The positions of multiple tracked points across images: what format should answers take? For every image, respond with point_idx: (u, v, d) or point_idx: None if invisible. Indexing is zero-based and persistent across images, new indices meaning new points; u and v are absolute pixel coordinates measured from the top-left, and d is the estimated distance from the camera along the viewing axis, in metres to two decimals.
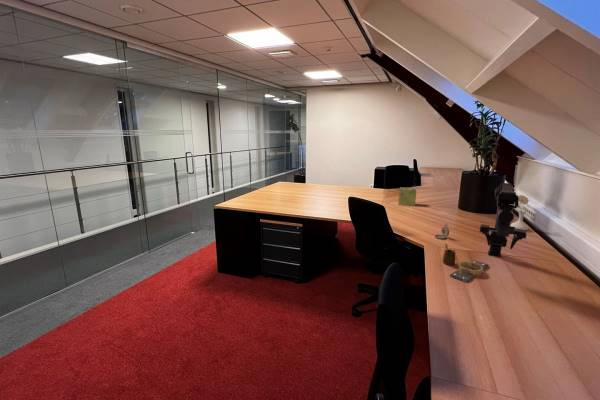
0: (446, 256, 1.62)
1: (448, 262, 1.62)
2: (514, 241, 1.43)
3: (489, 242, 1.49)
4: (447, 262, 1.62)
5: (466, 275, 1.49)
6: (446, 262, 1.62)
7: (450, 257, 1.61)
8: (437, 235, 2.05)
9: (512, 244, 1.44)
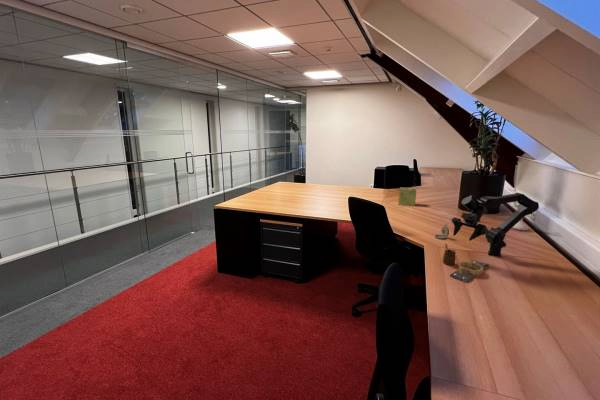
0: (446, 256, 1.62)
1: (448, 262, 1.62)
2: (474, 232, 1.60)
3: (455, 231, 1.69)
4: (447, 262, 1.62)
5: (466, 275, 1.49)
6: (446, 262, 1.62)
7: (450, 257, 1.61)
8: (437, 235, 2.05)
9: (472, 235, 1.61)
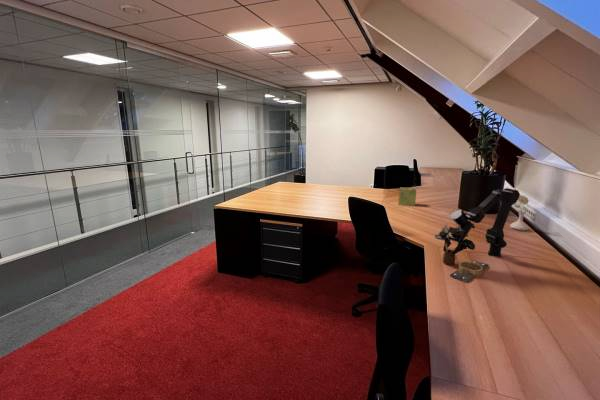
0: (446, 256, 1.62)
1: (448, 262, 1.62)
2: (457, 246, 1.59)
3: None
4: (447, 262, 1.62)
5: (466, 275, 1.49)
6: (446, 262, 1.62)
7: (450, 257, 1.61)
8: (437, 235, 2.05)
9: (455, 249, 1.59)
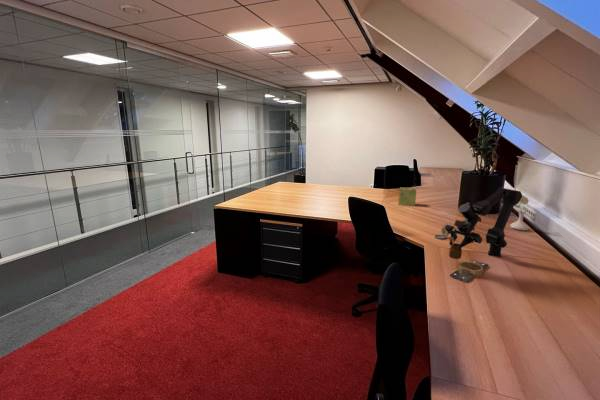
0: (452, 250, 1.59)
1: (454, 256, 1.58)
2: (464, 240, 1.56)
3: None
4: (453, 256, 1.59)
5: (466, 275, 1.49)
6: (452, 256, 1.59)
7: (456, 251, 1.57)
8: (437, 235, 2.05)
9: (461, 242, 1.56)
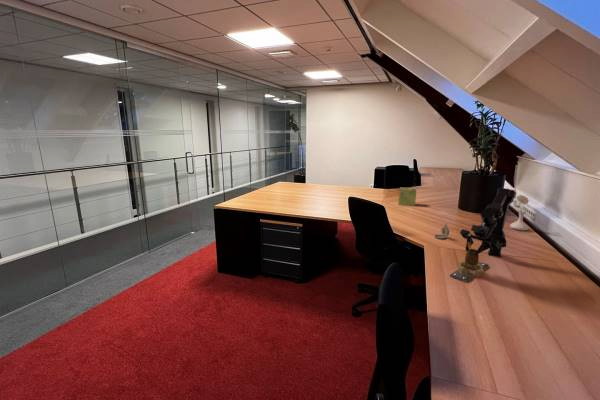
0: (469, 256, 1.52)
1: (471, 262, 1.51)
2: (481, 245, 1.49)
3: (467, 246, 1.54)
4: (470, 262, 1.52)
5: (466, 275, 1.49)
6: (469, 262, 1.52)
7: (473, 257, 1.50)
8: (437, 235, 2.05)
9: (478, 248, 1.49)
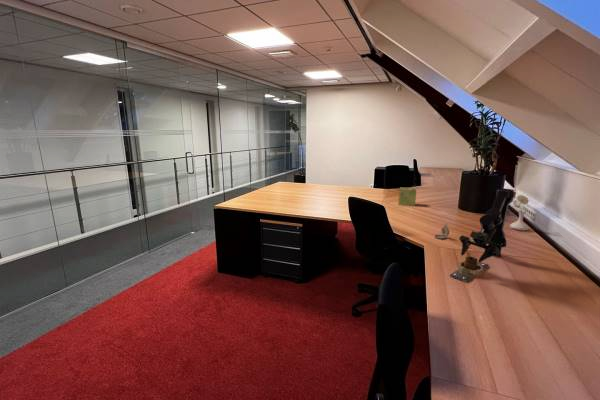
0: (467, 264, 1.53)
1: None
2: (484, 253, 1.48)
3: (463, 251, 1.56)
4: None
5: (466, 275, 1.49)
6: None
7: (472, 265, 1.51)
8: (437, 235, 2.05)
9: (481, 256, 1.48)
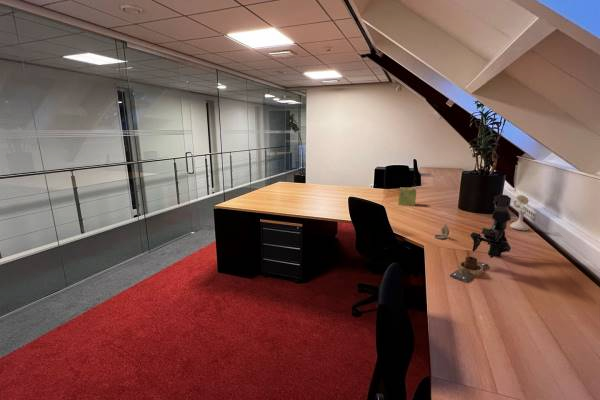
0: (467, 263, 1.53)
1: None
2: (495, 249, 1.52)
3: (474, 247, 1.61)
4: None
5: (466, 275, 1.49)
6: None
7: (472, 265, 1.52)
8: (437, 235, 2.05)
9: (493, 252, 1.53)
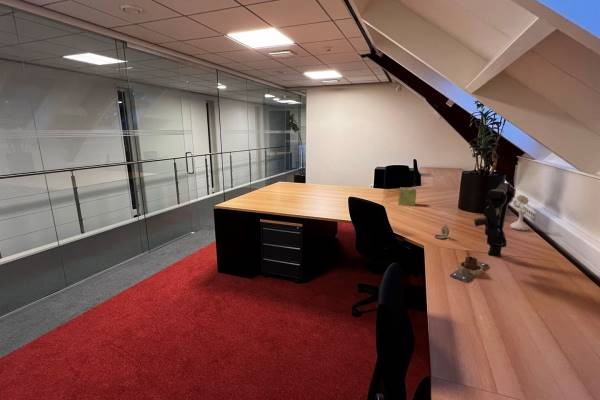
0: (467, 264, 1.53)
1: None
2: (487, 236, 1.54)
3: None
4: None
5: (466, 275, 1.49)
6: None
7: (472, 265, 1.52)
8: (437, 235, 2.05)
9: (488, 239, 1.55)
